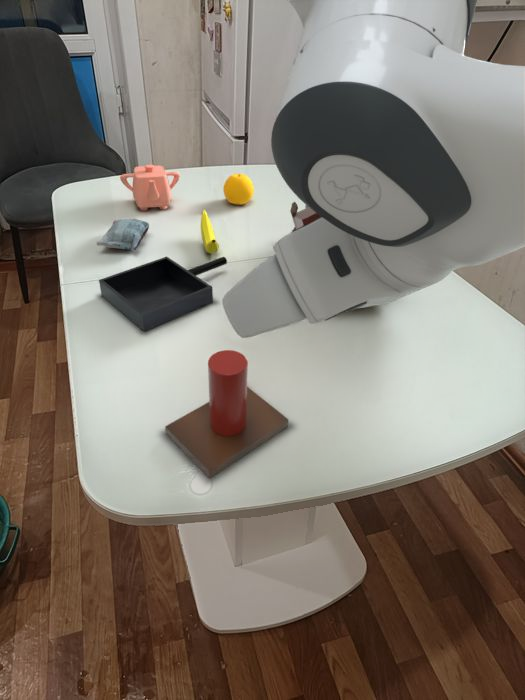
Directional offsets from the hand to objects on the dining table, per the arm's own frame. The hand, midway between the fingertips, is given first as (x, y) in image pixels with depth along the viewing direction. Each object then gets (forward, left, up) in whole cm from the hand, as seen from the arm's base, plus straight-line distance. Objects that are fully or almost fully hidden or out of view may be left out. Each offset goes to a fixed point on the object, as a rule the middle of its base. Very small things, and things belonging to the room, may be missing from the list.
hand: (282, 298), depth 51 cm
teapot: (+35, +83, -27) cm, 94 cm away
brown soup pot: (+42, +25, -27) cm, 56 cm away
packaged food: (+18, +68, -27) cm, 75 cm away
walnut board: (0, +9, -26) cm, 28 cm away
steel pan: (+15, +44, -26) cm, 54 cm away
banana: (+32, +55, -27) cm, 69 cm away
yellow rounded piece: (+54, +71, -27) cm, 93 cm away
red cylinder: (0, +9, -25) cm, 26 cm away
